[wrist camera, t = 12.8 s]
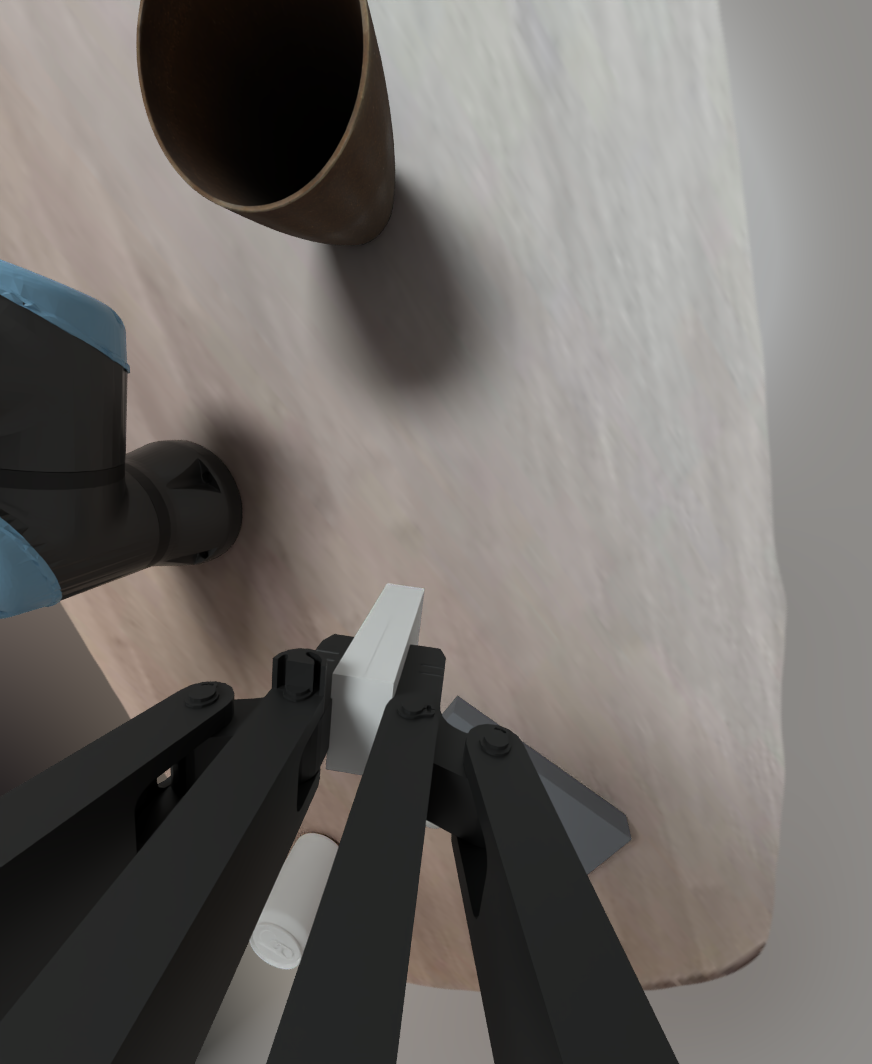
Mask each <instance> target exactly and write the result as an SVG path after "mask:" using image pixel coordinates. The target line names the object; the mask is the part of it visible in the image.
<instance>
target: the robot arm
mask: <svg viewBox="0 0 872 1064" xmlns="http://www.w3.org/2000/svg"><path fill="white" fill-rule="evenodd" d="M127 373H130V366H129V365H128V364H127V352H126V330H125V326H124V324H123V322H122V320H121V319H120V317H119V316H118V315H117V314H116V312H115V311H113V310H112V309H111V308H110V307H108V306H107V305H106V304H104V303H102V302H100V301H99V300H97V299H95V298H93V297H91V296H88V295H86V294H84V293H82V292H80V291H77V290H75V289H73V288H70V287H68V286H66V285H64V284H61V283H59V282H56V281H54V280H52V279H49V278H47V277H44V276H42V275H39V274H37V273H34V272H32V271H29V270H27V269H24V268H22V267H19V266H16V265H14V264H11V263H9V262H6V261H3V260H0V619H2V618H8V617H12V616H15V615H19V614H22V613H25V612H29V611H32V610H35V609H39V608H42V607H49V606H53V605H55V604H57V603H58V602H60V601H61V600H64V599H66V598H69V597H72V596H74V595H77V594H79V593H82V592H85V591H87V590H90V589H93V588H95V587H98V586H101V585H103V584H106V583H109V582H111V581H114V580H117V579H119V578H122V577H125V576H127V575H130V574H133V573H135V572H138V571H140V570H143V569H146V568H148V567H151V566H183V565H196V564H200V563H204V562H206V561H209V560H211V559H214V558H216V557H218V556H220V555H222V554H223V553H225V552H226V551H227V550H228V549H229V548H230V547H231V546H232V544H233V543H234V542H235V540H236V538H237V536H238V533H239V530H240V526H241V520H242V506H241V499H240V495H239V492H238V489H237V486H236V484H235V481H234V479H233V477H232V476H231V474H230V472H229V471H228V469H227V468H226V466H225V465H224V464H223V463H222V462H221V461H220V460H219V458H218V457H216V456H215V455H214V454H213V453H212V452H210V451H209V450H207V449H206V448H204V447H203V446H200V445H198V444H196V443H193V442H190V441H184V440H167V441H157V442H153V443H149V444H147V445H145V446H143V447H140V448H138V449H136V450H134V451H132V452H129V453H127V454H126V417H127ZM423 598H424V588H417V587H410V586H403V585H396V584H389V583H387V585H386V586H385V588H384V590H383V591H382V593H381V594H380V596H379V598H378V599H377V601H376V603H375V604H374V606H373V608H372V609H371V611H370V613H369V614H368V616H367V618H366V619H365V621H364V622H363V624H362V626H361V627H360V629H359V631H358V632H357V634H356V636H355V637H351V636H344V635H337V634H334V635H332V636H330V637H328V638H326V639H325V640H323V641H322V642H321V643H320V645H319V646H318V647H317V649H316V650H312V649H302V648H298V649H291V650H287V651H284V652H282V653H279V654H278V655H276V656H275V657H274V658H273V669H272V689H271V690H270V691H269V692H268V694H267V695H266V696H265V697H263V698H255V699H237V700H234V691H233V689H232V687H231V686H229V685H227V684H226V683H221V682H216V681H215V682H211V681H210V682H202V683H198V684H193V685H190V686H188V687H186V688H184V689H182V690H180V691H178V692H176V693H175V694H173V695H171V696H170V697H168V698H166V699H164V700H163V701H161V702H159V703H158V704H156V705H154V706H153V707H151V708H149V709H148V710H146V711H144V712H143V713H141V714H139V715H137V716H136V717H134V718H132V719H131V720H129V721H127V722H126V723H124V724H122V725H121V726H119V727H118V728H116V729H114V730H112V731H110V732H109V733H107V734H105V735H104V736H102V737H100V738H99V739H97V740H95V741H94V742H92V743H90V744H89V745H87V746H85V747H84V748H82V749H80V750H78V751H77V752H75V753H74V754H72V755H70V756H68V757H67V758H65V759H63V760H62V761H60V762H58V763H57V764H55V765H53V766H51V767H50V768H48V769H46V770H45V771H43V772H41V773H40V774H38V775H36V776H35V777H33V778H31V779H29V780H28V781H26V782H24V783H23V784H21V785H19V786H18V787H16V788H14V789H13V790H11V791H9V792H7V793H6V794H4V795H2V796H1V797H0V1064H195V1061H196V1059H197V1057H198V1054H199V1052H200V1050H201V1048H202V1046H203V1043H204V1041H205V1039H206V1037H207V1034H208V1032H209V1030H210V1028H211V1025H212V1023H213V1021H214V1019H215V1016H216V1014H217V1012H218V1010H219V1008H220V1005H221V1003H222V1001H223V998H224V996H225V994H226V992H227V990H228V987H229V985H230V983H231V980H232V978H233V976H234V974H235V972H236V969H237V967H238V965H239V963H240V960H241V958H242V956H243V954H244V951H245V949H246V947H247V945H248V942H249V940H250V938H251V936H252V933H253V931H254V929H255V927H256V924H257V922H258V920H259V918H260V915H261V913H262V911H263V909H264V907H265V904H266V902H267V900H268V898H269V895H270V893H271V891H272V889H273V886H274V884H275V882H276V880H277V877H278V875H279V873H280V871H281V868H282V866H283V864H284V862H285V859H286V857H287V855H288V853H289V850H290V848H291V846H292V844H293V841H294V839H295V837H296V835H297V832H298V830H299V828H300V826H301V823H302V821H303V819H304V817H305V814H306V812H307V810H308V808H309V806H310V803H311V801H312V799H313V797H314V794H315V792H316V790H317V788H318V784H319V779H320V766H321V764H322V762H323V760H324V758H325V756H326V753H327V760H326V769H328V770H334V771H340V772H346V773H352V774H357V775H362V778H361V781H360V784H359V787H358V790H357V793H356V796H355V799H354V802H353V805H352V808H351V811H350V814H349V817H348V820H347V823H346V826H345V829H344V832H343V835H342V838H341V841H340V844H339V847H338V850H337V853H336V856H335V859H334V862H333V865H332V868H331V871H330V874H329V877H328V880H327V883H326V886H325V889H324V892H323V895H322V898H321V901H320V904H319V907H318V910H317V913H316V916H315V919H314V922H313V925H312V928H311V931H310V934H309V937H308V940H307V943H306V946H305V949H304V952H303V955H302V958H301V961H300V964H299V967H298V970H297V973H296V976H295V979H294V982H293V985H292V988H291V991H290V994H289V997H288V1000H287V1003H286V1006H285V1009H284V1012H283V1015H282V1018H281V1021H280V1024H279V1027H278V1030H277V1033H276V1036H275V1039H274V1042H273V1045H272V1048H271V1051H270V1054H269V1057H268V1060H267V1063H266V1064H396V1061H397V1053H398V1045H399V1037H400V1029H401V1021H402V1013H403V1005H404V997H405V987H406V980H407V972H408V964H409V956H410V948H411V940H412V932H413V924H414V916H415V908H416V899H417V891H418V883H419V875H420V867H421V859H422V851H423V843H424V835H425V827H426V820H427V821H429V822H431V823H432V824H434V825H436V826H438V827H440V828H442V829H444V830H446V831H448V832H450V833H451V842H452V847H453V852H454V857H455V862H456V868H457V873H458V878H459V883H460V888H461V893H462V898H463V904H464V909H465V914H466V919H467V924H468V929H469V935H470V940H471V945H472V950H473V955H474V960H475V965H476V971H477V976H478V981H479V986H480V991H481V996H482V1002H483V1006H484V1011H485V1017H486V1022H487V1027H488V1032H489V1037H490V1043H491V1048H492V1053H493V1058H494V1063H495V1064H679V1063H678V1061H677V1059H676V1057H675V1055H674V1052H673V1050H672V1048H671V1046H670V1044H669V1042H668V1040H667V1038H666V1036H665V1034H664V1032H663V1030H662V1028H661V1026H660V1024H659V1022H658V1020H657V1018H656V1016H655V1013H654V1012H653V1009H652V1007H651V1006H650V1003H649V1001H648V999H647V997H646V995H645V993H644V991H643V989H642V987H641V985H640V983H639V980H638V978H637V976H636V974H635V972H634V970H633V968H632V966H631V964H630V962H629V960H628V958H627V956H626V954H625V952H624V950H623V948H622V946H621V943H620V941H619V939H618V937H617V935H616V933H615V931H614V929H613V927H612V925H611V923H610V921H609V919H608V917H607V915H606V913H605V911H604V909H603V906H602V904H601V902H600V900H599V898H598V896H597V894H596V892H595V890H594V888H593V886H592V884H591V882H590V880H589V878H588V876H587V874H586V871H585V869H584V867H583V865H582V863H581V861H580V859H579V857H578V855H577V853H576V851H575V849H574V847H573V845H572V843H571V841H570V839H569V837H568V834H567V832H566V830H565V828H564V826H563V824H562V822H561V820H560V818H559V816H558V814H557V812H556V810H555V808H554V806H553V804H552V802H551V800H550V797H549V795H548V793H547V791H546V789H545V787H544V785H543V783H542V781H541V779H540V777H539V775H538V773H537V771H536V769H535V767H534V765H533V762H532V760H531V758H530V756H529V754H528V752H527V750H526V748H525V746H524V744H523V743H522V741H521V740H520V739H519V737H518V736H517V735H516V734H514V733H513V732H512V731H510V730H509V729H506V728H504V727H501V726H499V725H493V724H482V725H477V726H475V727H474V728H472V729H470V731H469V732H468V733H465V732H463V731H461V730H459V729H457V728H455V727H453V726H452V725H450V724H449V723H448V722H447V721H446V720H445V719H444V718H443V716H442V714H441V711H440V702H441V694H442V686H443V677H444V669H445V661H446V657H445V656H444V654H443V652H442V651H441V649H438V648H431V647H425V646H418V640H419V631H420V623H421V614H422V606H423ZM170 767H171V776H170V777H168V778H167V779H166V780H165V781H163V782H161V783H159V784H157V777H159V776H160V775H161V774H163V773H164V772H165V771H167V770H168V769H169V768H170Z"/></svg>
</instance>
